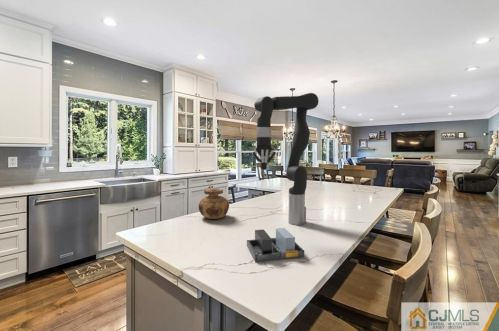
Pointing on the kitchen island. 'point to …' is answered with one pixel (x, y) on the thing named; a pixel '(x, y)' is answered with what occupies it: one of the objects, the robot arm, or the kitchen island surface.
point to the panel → (285, 240)
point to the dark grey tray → (270, 248)
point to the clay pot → (213, 204)
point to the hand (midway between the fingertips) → (263, 169)
